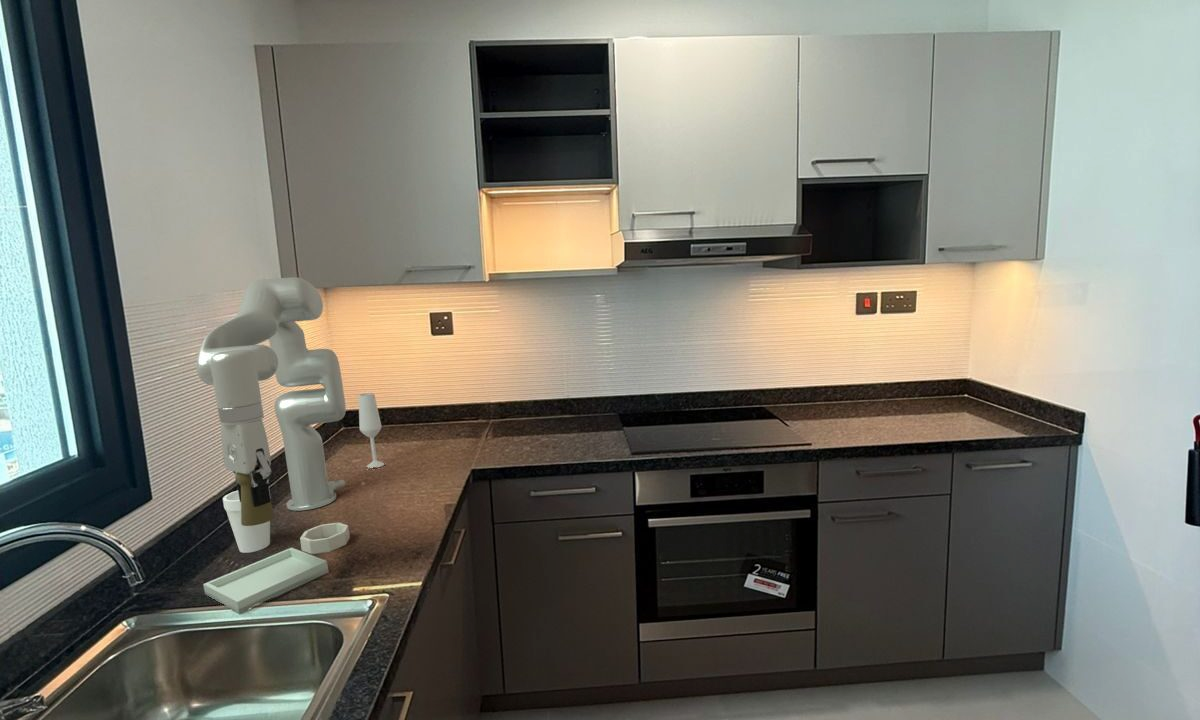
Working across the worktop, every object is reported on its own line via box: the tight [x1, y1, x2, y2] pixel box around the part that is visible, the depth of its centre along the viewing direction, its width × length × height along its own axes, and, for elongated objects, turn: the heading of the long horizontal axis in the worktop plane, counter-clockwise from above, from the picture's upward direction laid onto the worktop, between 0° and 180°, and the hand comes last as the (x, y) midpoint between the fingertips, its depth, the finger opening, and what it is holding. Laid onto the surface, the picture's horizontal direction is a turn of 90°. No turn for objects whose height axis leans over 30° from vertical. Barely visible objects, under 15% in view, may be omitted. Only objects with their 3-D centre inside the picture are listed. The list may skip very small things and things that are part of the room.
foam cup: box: [222, 489, 272, 554], centre depth 145 cm, size 10×9×13 cm
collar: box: [299, 522, 351, 555], centre depth 145 cm, size 10×10×3 cm
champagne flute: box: [358, 392, 385, 468], centre depth 202 cm, size 7×7×24 cm
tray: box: [203, 547, 329, 615], centre depth 127 cm, size 18×14×2 cm
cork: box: [236, 466, 276, 526], centre depth 124 cm, size 6×6×11 cm
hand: (255, 501), depth 124 cm, fingers closed on cork, 4 cm apart
